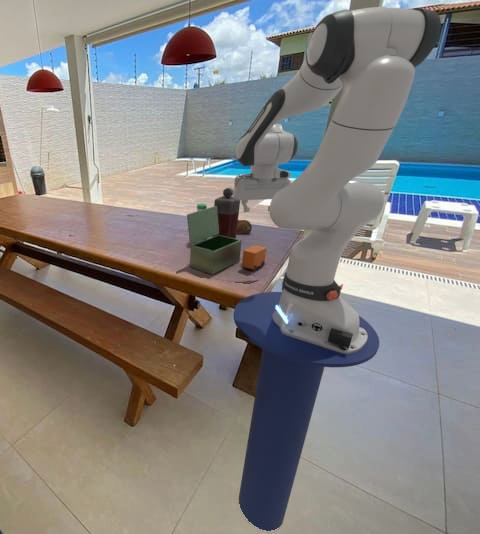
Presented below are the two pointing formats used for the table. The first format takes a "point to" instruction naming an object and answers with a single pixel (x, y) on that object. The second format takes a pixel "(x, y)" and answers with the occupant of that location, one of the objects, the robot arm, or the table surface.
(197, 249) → the green hinged box
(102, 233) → the table surface
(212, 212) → the lid
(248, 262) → the toy van
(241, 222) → the brown rounded piece
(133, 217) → the table surface
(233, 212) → the dark brown tall piece
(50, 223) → the table surface
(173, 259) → the table surface
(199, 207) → the milk bottle
